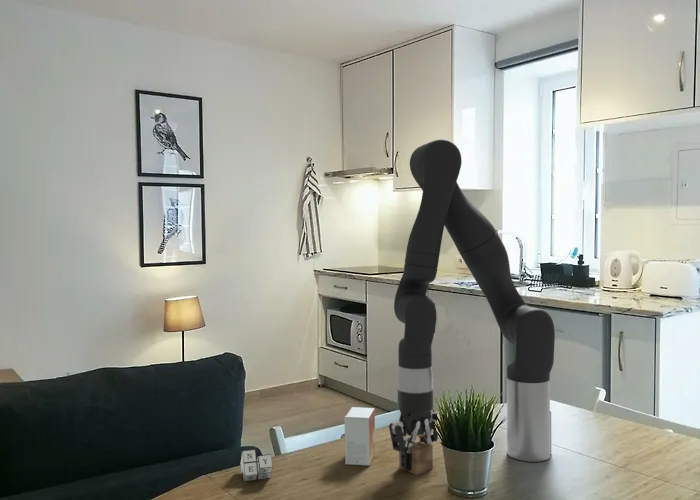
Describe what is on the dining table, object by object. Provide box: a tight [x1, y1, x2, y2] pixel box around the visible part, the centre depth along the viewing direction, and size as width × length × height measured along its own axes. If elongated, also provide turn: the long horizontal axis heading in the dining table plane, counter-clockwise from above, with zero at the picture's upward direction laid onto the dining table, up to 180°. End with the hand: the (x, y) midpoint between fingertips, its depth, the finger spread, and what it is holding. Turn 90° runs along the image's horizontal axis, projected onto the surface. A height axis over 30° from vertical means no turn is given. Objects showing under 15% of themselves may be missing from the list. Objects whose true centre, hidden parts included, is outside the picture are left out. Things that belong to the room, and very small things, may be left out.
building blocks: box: [240, 448, 274, 482], centre depth 125 cm, size 5×5×8 cm
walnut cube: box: [398, 439, 434, 475], centre depth 129 cm, size 5×5×5 cm
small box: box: [343, 406, 376, 466], centre depth 135 cm, size 8×6×10 cm
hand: (415, 465), depth 129 cm, fingers closed on walnut cube, 5 cm apart
